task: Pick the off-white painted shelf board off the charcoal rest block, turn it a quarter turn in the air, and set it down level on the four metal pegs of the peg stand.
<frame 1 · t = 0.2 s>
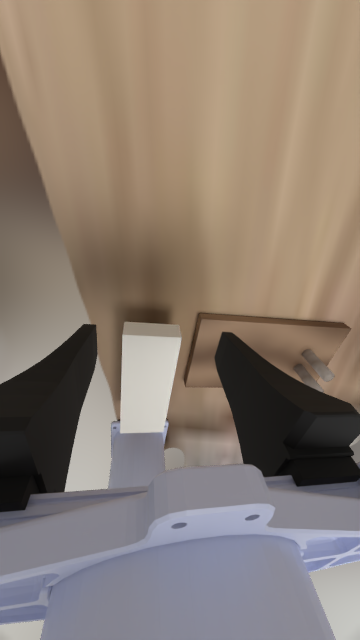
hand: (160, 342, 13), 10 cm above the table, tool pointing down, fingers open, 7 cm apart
shelf board: (146, 377, 24), point 2 cm above the table, touching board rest
peg stand: (261, 352, 28), on the table
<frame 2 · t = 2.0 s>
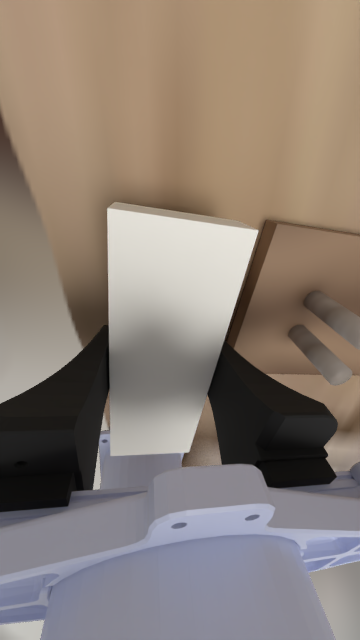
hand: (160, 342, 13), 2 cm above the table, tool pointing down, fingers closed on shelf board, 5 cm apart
shelf board: (160, 349, 13), point 2 cm above the table, touching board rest, gripper
peg stand: (356, 312, 16), on the table
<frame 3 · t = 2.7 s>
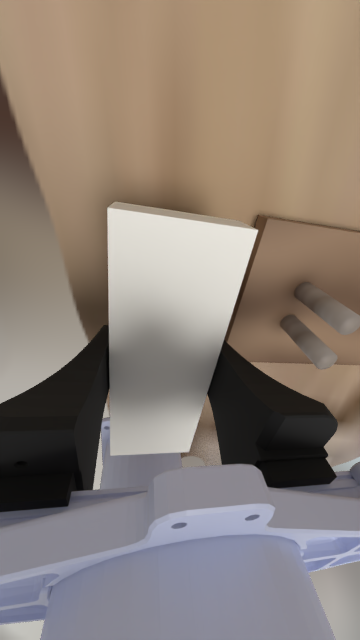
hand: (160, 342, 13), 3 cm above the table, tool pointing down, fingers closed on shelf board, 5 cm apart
shelf board: (160, 348, 13), point 4 cm above the table, touching gripper
peg stand: (345, 304, 17), on the table
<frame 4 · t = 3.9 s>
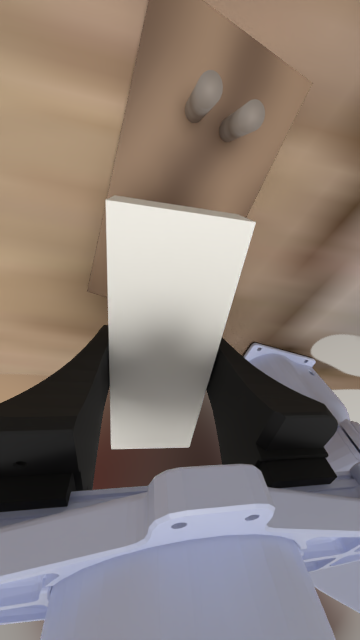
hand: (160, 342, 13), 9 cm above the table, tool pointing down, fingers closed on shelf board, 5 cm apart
shelf board: (161, 343, 13), point 9 cm above the table, touching gripper
peg stand: (179, 202, 17), on the table
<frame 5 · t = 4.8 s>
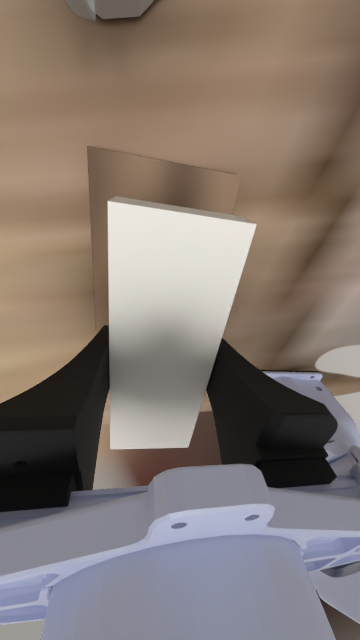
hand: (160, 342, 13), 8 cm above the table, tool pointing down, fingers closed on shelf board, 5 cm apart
shelf board: (161, 343, 13), point 9 cm above the table, touching gripper
peg stand: (155, 284, 20), on the table
when the fingers open (6 cm above the table, at t = 5.8 s): shelf board drops 1 cm, resting on peg stand.
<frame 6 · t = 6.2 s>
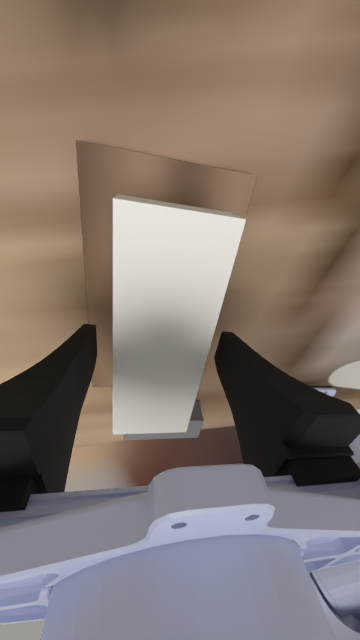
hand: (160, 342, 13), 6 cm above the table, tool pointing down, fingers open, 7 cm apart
shelf board: (160, 333, 14), point 5 cm above the table, touching peg stand
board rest: (162, 409, 26), on the table
peg stand: (156, 296, 18), on the table
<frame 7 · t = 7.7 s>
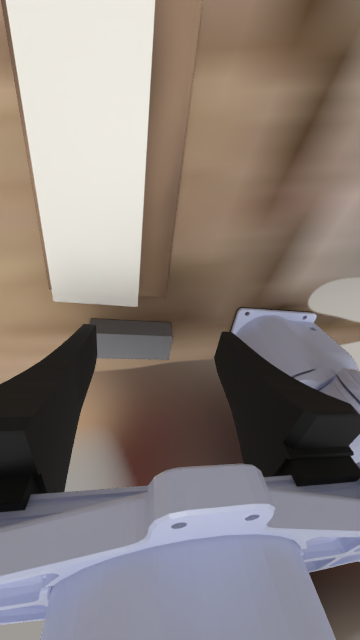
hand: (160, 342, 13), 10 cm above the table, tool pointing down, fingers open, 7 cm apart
shelf board: (98, 172, 12), point 5 cm above the table, touching peg stand
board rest: (131, 332, 24), on the table
peg stand: (110, 175, 17), on the table
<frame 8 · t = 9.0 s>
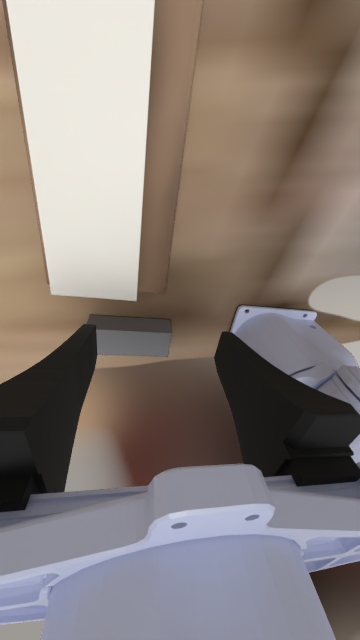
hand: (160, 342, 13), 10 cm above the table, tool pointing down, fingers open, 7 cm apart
shelf board: (97, 163, 12), point 5 cm above the table, touching peg stand
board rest: (130, 329, 24), on the table
peg stand: (110, 169, 17), on the table
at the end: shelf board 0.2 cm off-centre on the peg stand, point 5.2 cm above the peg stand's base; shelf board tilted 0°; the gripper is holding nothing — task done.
